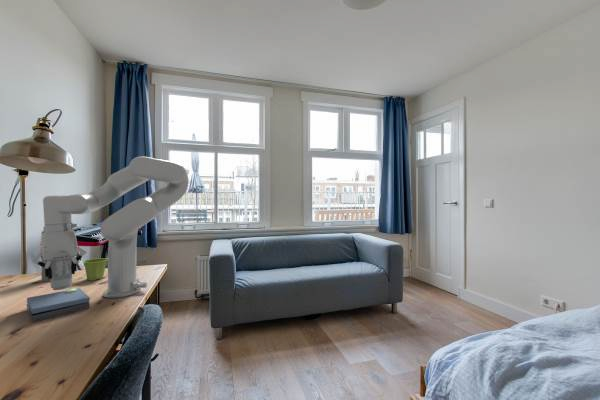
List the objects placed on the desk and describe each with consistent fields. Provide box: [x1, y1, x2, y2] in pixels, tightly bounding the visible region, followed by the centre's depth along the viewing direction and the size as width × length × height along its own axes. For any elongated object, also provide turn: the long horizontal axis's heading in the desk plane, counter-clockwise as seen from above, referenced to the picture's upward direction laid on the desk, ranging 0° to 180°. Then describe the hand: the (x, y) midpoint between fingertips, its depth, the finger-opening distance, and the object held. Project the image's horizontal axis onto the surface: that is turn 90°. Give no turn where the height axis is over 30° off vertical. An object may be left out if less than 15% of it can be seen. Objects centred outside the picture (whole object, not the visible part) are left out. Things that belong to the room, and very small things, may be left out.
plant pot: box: [82, 257, 108, 281], centre depth 124 cm, size 9×9×9 cm
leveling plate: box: [26, 288, 91, 314], centre depth 90 cm, size 14×14×2 cm
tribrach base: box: [26, 301, 90, 323], centre depth 90 cm, size 14×14×2 cm
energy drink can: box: [50, 250, 73, 291], centre depth 99 cm, size 6×6×15 cm
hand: (61, 275), depth 99 cm, fingers closed on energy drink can, 6 cm apart
